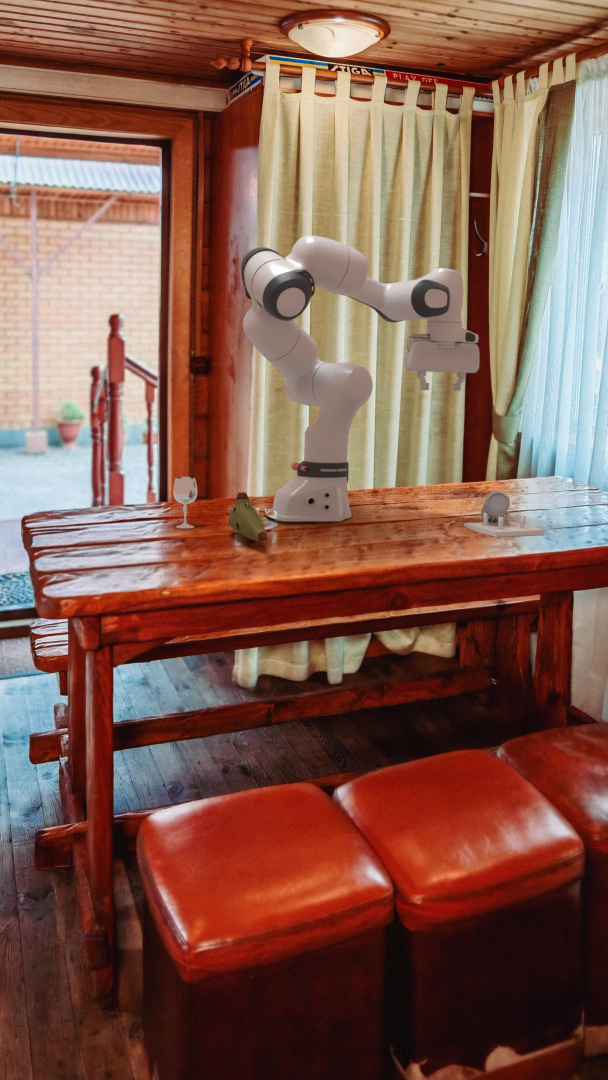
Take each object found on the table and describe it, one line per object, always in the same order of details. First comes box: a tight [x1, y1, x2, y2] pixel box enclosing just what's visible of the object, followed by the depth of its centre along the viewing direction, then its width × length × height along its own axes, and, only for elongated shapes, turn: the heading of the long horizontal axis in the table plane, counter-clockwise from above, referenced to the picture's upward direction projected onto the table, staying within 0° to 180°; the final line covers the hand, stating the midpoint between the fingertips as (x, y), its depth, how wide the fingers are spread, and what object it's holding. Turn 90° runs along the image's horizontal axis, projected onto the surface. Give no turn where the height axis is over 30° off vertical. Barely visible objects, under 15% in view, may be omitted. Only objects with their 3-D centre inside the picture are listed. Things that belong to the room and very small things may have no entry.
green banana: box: [228, 491, 268, 542], centre depth 206 cm, size 20×5×10 cm, turn 27°
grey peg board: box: [463, 511, 545, 538], centre depth 224 cm, size 14×14×4 cm
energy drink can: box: [480, 490, 511, 522], centre depth 230 cm, size 6×6×15 cm
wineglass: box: [172, 476, 198, 529], centre depth 217 cm, size 6×6×12 cm
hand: (440, 390), depth 230 cm, fingers open, 8 cm apart
